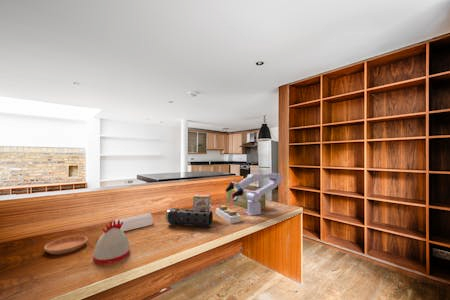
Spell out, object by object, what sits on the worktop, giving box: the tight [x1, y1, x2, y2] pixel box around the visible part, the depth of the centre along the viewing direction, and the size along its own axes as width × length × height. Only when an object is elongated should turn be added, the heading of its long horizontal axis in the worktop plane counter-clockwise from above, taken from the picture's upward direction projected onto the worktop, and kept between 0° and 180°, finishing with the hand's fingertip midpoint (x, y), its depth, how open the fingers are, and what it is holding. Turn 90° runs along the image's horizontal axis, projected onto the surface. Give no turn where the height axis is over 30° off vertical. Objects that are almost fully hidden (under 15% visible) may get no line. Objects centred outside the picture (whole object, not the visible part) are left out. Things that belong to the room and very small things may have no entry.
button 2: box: [228, 209, 238, 216], centre depth 133 cm, size 4×4×3 cm
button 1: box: [218, 204, 228, 211], centre depth 145 cm, size 4×4×3 cm
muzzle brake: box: [164, 208, 214, 229], centre depth 122 cm, size 10×28×10 cm, turn 78°
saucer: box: [44, 235, 89, 256], centre depth 93 cm, size 16×16×3 cm
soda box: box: [225, 187, 266, 210], centre depth 175 cm, size 40×14×13 cm, turn 32°
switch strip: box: [215, 207, 242, 224], centre depth 139 cm, size 8×24×4 cm, turn 25°
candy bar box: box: [192, 194, 211, 211], centre depth 134 cm, size 11×5×16 cm, turn 84°
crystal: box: [112, 212, 154, 232], centre depth 120 cm, size 7×7×24 cm
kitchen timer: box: [92, 220, 131, 265], centre depth 87 cm, size 14×14×15 cm
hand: (229, 193), depth 137 cm, fingers open, 7 cm apart
